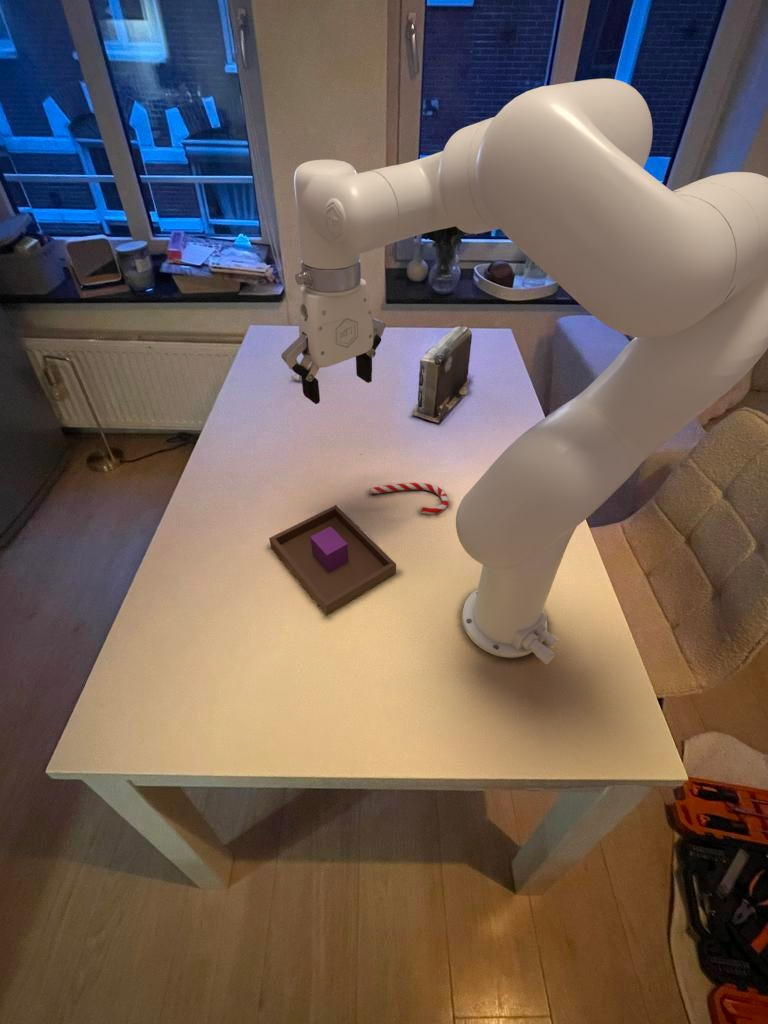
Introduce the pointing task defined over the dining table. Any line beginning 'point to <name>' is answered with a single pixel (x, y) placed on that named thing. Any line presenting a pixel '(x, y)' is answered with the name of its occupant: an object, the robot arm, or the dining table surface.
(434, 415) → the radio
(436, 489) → the candy cane
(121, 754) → the dining table surface
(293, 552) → the tray
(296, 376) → the soldier figure
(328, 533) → the cube
